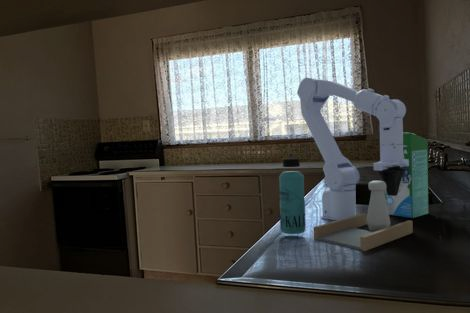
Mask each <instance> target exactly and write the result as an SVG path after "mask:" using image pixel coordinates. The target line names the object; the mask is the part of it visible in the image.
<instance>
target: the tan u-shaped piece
mask: <svg viewBox="0 0 470 313" xmlns="http://www.w3.org/2000/svg"><path fill="white" fill-rule="evenodd" d="M366 220H367V214H366V213H360V214H356V216H352V217H348V218H345V219H341V220H337V221H336V220H333V221H331V222H326V223H324V224H323V223H322V224H320V225H316V226H313V240H316V241H319V242H325V243H329V244H334V245H337V246H342V247H345V248H346V247H347V248H350V249H354V250H358V251H363V252H367V251H369V250H371V249H373V248H377V247H379V246H382V245H384V244H387V243H390V242H393V241H394V240H398V239H401V238H402V237H403V238H404V237H405V236H408V235H411V234H413V232H414V230H413V228H414V227H413V226H414V224H413V220H406V221H403V222H399V223H397V224H394V225H390V226H389V227H387V228H385V229H382V230H379V231H376V232H372V231H370V230H366V229H361V228H360V227H363V226H366V225H367V222H366Z"/></svg>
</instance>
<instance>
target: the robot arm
mask: <svg viewBox="0 0 470 313" xmlns="http://www.w3.org/2000/svg"><path fill="white" fill-rule="evenodd" d="M296 94H297V96H298V98H299V99H300V109H301V115H302V118H303V119H304V121H305V123H306V125H307V126H306V127H307V128H308V129H309V132H310V133H311V136H312V138H313V140H314V142H315V144H316V146H317V148H318V151H319V152H320V155H321V156H322V159H323V161H324V165H323V167H322V171H323V173H324V178H325V183H326V186H328V187H327V188H325V189H324V190H323V192H322V195H321V197H322V198H321V202H322V203H321V204H322V205H321V211H322V215H321V216H320V218H321V219H324V220H325V219H326V220H331V221H337V220H341V219H345V218H348V217H352V216H356V215H357V204H356V202H357V201H356V200H357V199H356V187H357V186H356V185H357V184H358V183H359V181H360V177H361V176H360V172H359V170H358V169H357V168H356V166H354V165H353V164H352V163H351V161H350V159H348V158H347V157H345V156H344V155H343V154H342V151H341V150H340V148H339V145H338V144H337V142H336V140H335V138H334V136H333V133H332V132H331V130H330V128H329V126H328V124H327V121H326V120H325V118H324V116H323V113H322V111H321V110H322V108H323V107H324V105H325V104H326V102H327V101H328V99H329V98H330V97H333V96H336V97H339V98H341V99H344V100H346V101H350V102H352V103H353V105H354V107H355V108H356V109H357V110H360V111H361V112H364V113H366V114H367V113H368V114H369V115H372V116H374V117H376V119H378V121H379V122H378V123H379V157H380V159H379V161H377V162H373V171H376V172H377V171H378V174H379V176H381V179H382V181H384V182H385V183H386V191H387V194H388V195H391V196H396V195H397V194H398V190H399V186H400V182H401V179H402V177H403V175H404V173H405V172H406V169H405V168H400V167H404V166H409V159H403V133H404V124H403V122H404V120H403V118H405V115H406V113H407V107H406V105H405V103H404V102H403V101H401V100H400V99H398V98H397V99H396V98H394V99H390V96H389V95H387V94H384V95H382V94H379V93H376V92H375V89H373V88H367V89H366V88H365V89H364V88H363V89H361V90H359V91H358V90H355V89H353V88H352V87H349V86H347V85H344V84H341V83H339V82H337V81H334V80H328V79H323V78H322V79H319V78H313V77H310V76H309V77H304V78H302V80H301V81H300V82H299V85H298V89H297V91H296ZM392 165H396V166H392Z"/></svg>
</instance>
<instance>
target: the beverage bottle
mask: <svg viewBox="0 0 470 313" xmlns="http://www.w3.org/2000/svg"><path fill="white" fill-rule="evenodd" d="M300 166H301V164H300V159H299V158H297V157H287V158H283V162H282V167H283V168H297V167H298V168H299V167H300ZM278 180H279V190H278V191H279V192H278V193H279V229H280V232H281V233H283V234H286V235H298V234H304V233H305V232H306V226H307V225H306V221H307V219H306V201H305V176H304V174H303V173H302V172H301V171H299V170H289V171H288V170H287V171H286V170H285V171H282V172H281V173H280V175H279V176H278Z"/></svg>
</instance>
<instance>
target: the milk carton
mask: <svg viewBox="0 0 470 313" xmlns="http://www.w3.org/2000/svg"><path fill="white" fill-rule="evenodd" d="M428 155H429V152H428V139H427V138H425V137H423V136H419V135H417V134H415V133H412V132H403V159H409V166H404V167H400V168H405V169H406V172H405V173H404V175H403V177H402V179H401V182H400V186H399V190H398V194H397V195H396V196H391V195H388V194H387V191H386V190H384V194H385V198H386V203H387V208H388V213H389V216H391V215H392V216H395V217H396V216H397V217H403V218H407V219H408V218H409V219H414V218H417V217H421V216H422V217H423V216H424V215H428V214H429V164H428V163H429V161H428V159H429V157H428ZM392 166H396V165H392Z"/></svg>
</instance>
